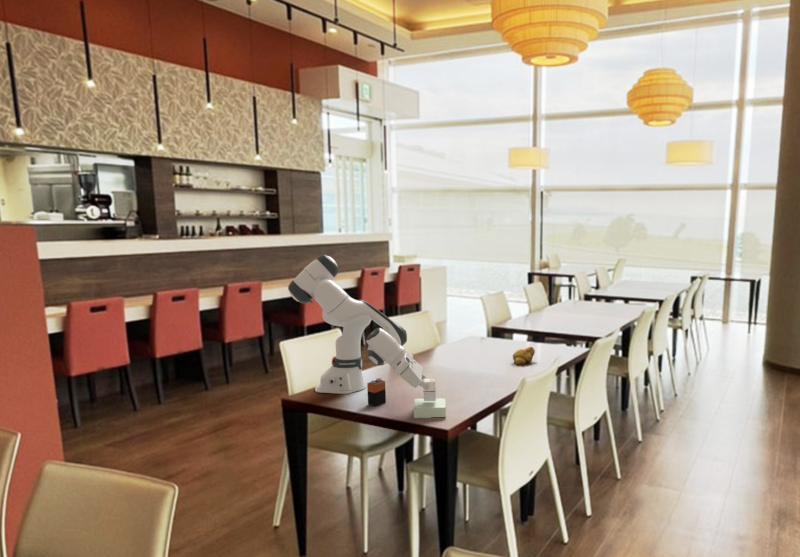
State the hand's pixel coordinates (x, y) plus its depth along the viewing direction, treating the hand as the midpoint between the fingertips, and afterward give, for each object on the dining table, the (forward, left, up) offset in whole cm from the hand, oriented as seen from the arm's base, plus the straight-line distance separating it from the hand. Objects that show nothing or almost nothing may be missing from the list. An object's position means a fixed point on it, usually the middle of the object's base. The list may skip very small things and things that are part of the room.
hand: (428, 386), depth 213 cm
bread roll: (+46, +76, -11) cm, 90 cm away
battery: (-22, +12, -11) cm, 27 cm away
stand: (0, 0, -11) cm, 11 cm away
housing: (0, 0, -5) cm, 5 cm away
